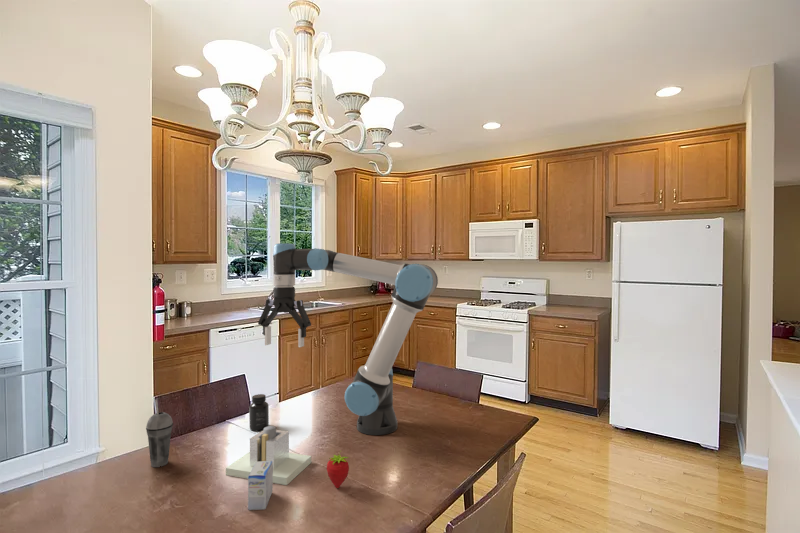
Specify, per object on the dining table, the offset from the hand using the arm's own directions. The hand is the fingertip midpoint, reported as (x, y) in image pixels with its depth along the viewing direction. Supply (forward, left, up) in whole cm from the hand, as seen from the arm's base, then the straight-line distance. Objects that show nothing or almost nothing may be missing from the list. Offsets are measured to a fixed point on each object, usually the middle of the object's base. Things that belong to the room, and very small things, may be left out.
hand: (284, 345), depth 151 cm
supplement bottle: (+12, -2, -32) cm, 34 cm away
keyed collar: (-10, +24, -30) cm, 39 cm away
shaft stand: (-10, +24, -32) cm, 41 cm away
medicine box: (-18, +40, -32) cm, 54 cm away
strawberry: (-34, +28, -32) cm, 54 cm away
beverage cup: (+24, +31, -32) cm, 51 cm away
